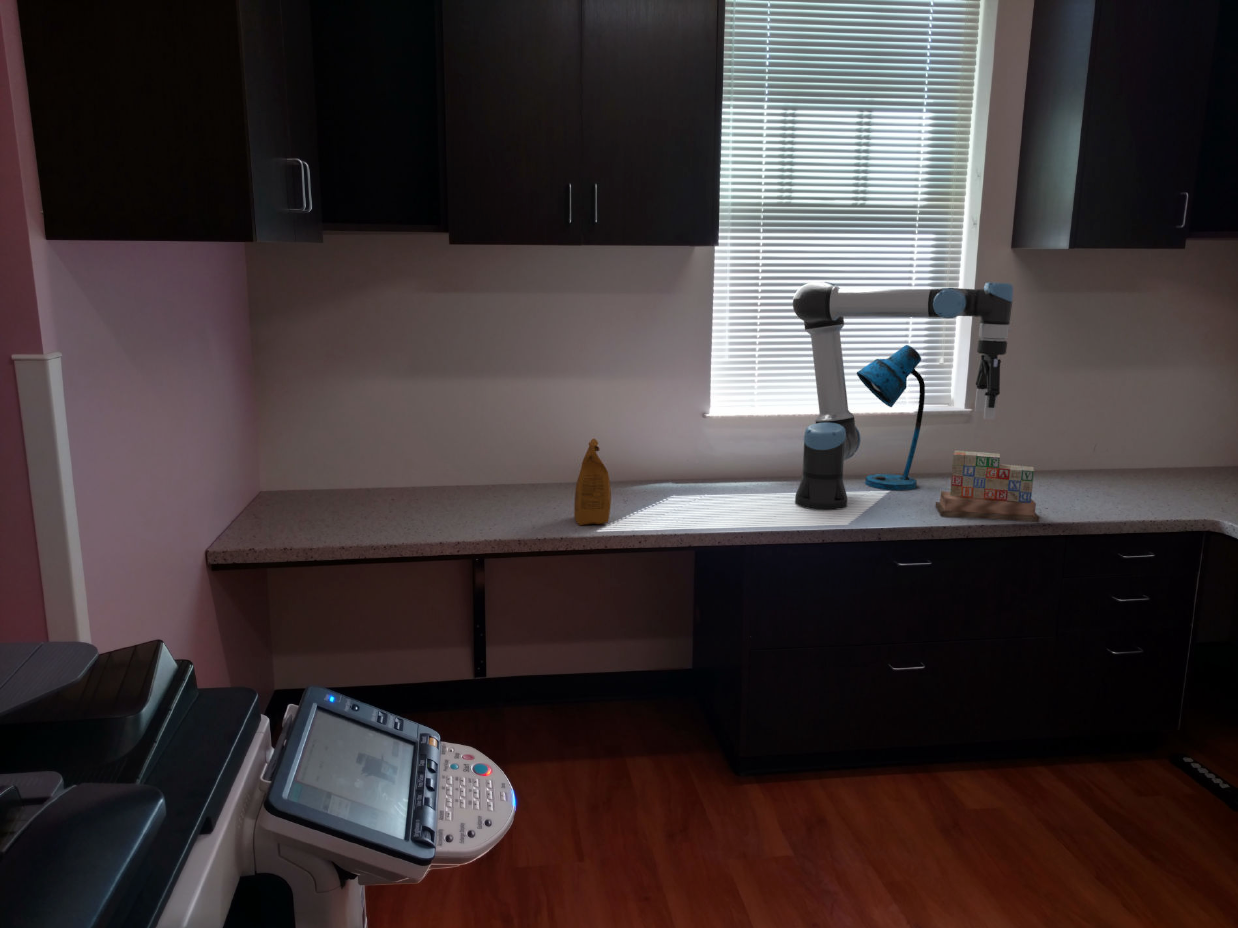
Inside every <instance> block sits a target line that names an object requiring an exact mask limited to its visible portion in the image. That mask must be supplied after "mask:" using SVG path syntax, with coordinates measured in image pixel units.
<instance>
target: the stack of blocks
mask: <svg viewBox="0 0 1238 928" xmlns="http://www.w3.org/2000/svg"><path fill="white" fill-rule="evenodd" d="M1000 458H1001V453H994V452H982V451H981V452H980V451H977V452H976V451H969V450H968V451H966V450H954V452H953V455H952V465H951V476H950V477H951V480H950V491H949V492H950V496H961V497H970V498H981V499H994V500H1004V501H1015V502H1025V503H1031V499H1032V493H1033V484H1034V473H1035V472H1034V471H1035V468H1034V466H1025V465H1017V464H1016V465H1014V464H1003V463H1001V464H1000Z"/></svg>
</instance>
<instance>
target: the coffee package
mask: <svg viewBox="0 0 1238 928" xmlns="http://www.w3.org/2000/svg"><path fill="white" fill-rule="evenodd" d="M598 445H599V441H597V439H596V438H595V437H594V438H592V439H591V440H590V441H589V442H588V448H587V451H586V453H585V454H584V457H583V460H582V463H581V466H580V471H579V473H578V478H577V480H576V485H575V490H574V491H575V492H574V505H573V506H574V509H573V510H574V511H573V512H574V519H575V521H576V523H577V525H579V526H584V525H585V526H586V525H595V524H597V525H601V524H608V523H609V519H610V513H611V503H612V491H611V490H612V489H611V483H610V474H609V471H608V470H607V468H606V466H605V465H604V463H603V462H602V459H601V458H600V456H599V455H598V454H597V452H599V451H600V449H601V448H600V447H599V446H598Z"/></svg>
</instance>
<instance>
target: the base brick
mask: <svg viewBox="0 0 1238 928" xmlns="http://www.w3.org/2000/svg"><path fill="white" fill-rule="evenodd" d="M939 496H940V498H939V501H935V506H934V507H935V508H936V511H937V512H938V514H939V515H940V517H945V518H960V519H962V518H966V519H983V520H999V521H1000V520H1002V521H1017V522H1019V521H1020V522H1037V523H1039V521H1040V515H1039V514H1037V512H1036V508H1037V507H1036V506H1037V503H1036V502H1035V501H1034V499H1032V498H1031V503H1025V502H1015V501H1004V500H994V499H981V498H970V497H961V496H950V491H942V490H941V491H940V495H939Z"/></svg>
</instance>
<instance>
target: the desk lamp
mask: <svg viewBox="0 0 1238 928" xmlns="http://www.w3.org/2000/svg"><path fill="white" fill-rule="evenodd" d="M921 361H922V356H921V355H920V354H919V352H918V351H917V350H916V349H915V348H914V347H913V346H910V345H908V344H905V345H903V346H902V347H901V348H900V349H898V350H897V351H896V352H894V353H893V354H892V355H890V356H889V357H887V358H876V359H874V360H873V361H871V362H870V363H868V364H867V365H865V366H864V367H863V368H861V369H860V370H858V371H857V372H856V375H857V377H858V379H859V380H860V381H861V382H862V384H863V385H864V386H865V387H866V388H867V389H868V390H869V392H870V393H872V394H873V395H874V396H875V397H876V398H877V399H878V400H879V401H880V402H882V403H883V404H884V405H886V406H887V407H889V408H893V406H894V405H895V404H896V403H897V402H898V399H900V397H901V396H902V394H904V392H905V391H906V390H907V386H908V385H907V384H908V383H907V381H908V380H907V379H908V377H909V375H910V374H912V376H913V377H915V379H916V380H917V381H918V386H919V394H918V395H919V396H918V397H919V399H918V407H917V414H916V420H915V428H914V431H913V435H912V440H911V443H910V447H909V448H910V449H909V452H908V456H907V459H906V463H905V467H904V471H903V473H902V475H900V474H891V473H890V474H889V473H877V474H875V473H874V474H869V475H866V477H865V481H864V484H865V485H866V486H868V487H871V488H874V489H879V490H886V491H909V490H913V489H916V488H917V482H918V481H917V480H916V479H915V478H913V477H910V476H909V474H910V470H911V467H912V464H913V460H914V455H915V453H916V450H917V446H918V445H917V444H918V440H919V436H920V431H921V425H922V420H923V414H924V409H925V399H926V385H925V381H924V378H923V376H922V375H921V374H920V373H919V371H917V370H916V368H917V366H918V365H919V364H920V362H921Z"/></svg>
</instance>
